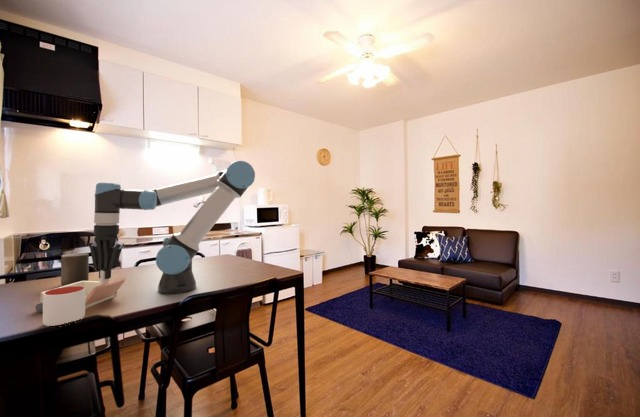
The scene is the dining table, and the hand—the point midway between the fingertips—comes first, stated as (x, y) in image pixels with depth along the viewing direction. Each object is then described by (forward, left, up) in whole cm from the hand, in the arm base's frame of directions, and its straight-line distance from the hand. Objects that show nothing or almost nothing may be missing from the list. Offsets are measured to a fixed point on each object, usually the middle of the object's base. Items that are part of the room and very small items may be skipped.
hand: (104, 287), depth 106 cm
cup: (-1, +16, -7) cm, 17 cm away
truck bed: (+10, 0, -6) cm, 12 cm away
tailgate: (+2, 0, -5) cm, 5 cm away
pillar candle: (+35, -22, -7) cm, 42 cm away
